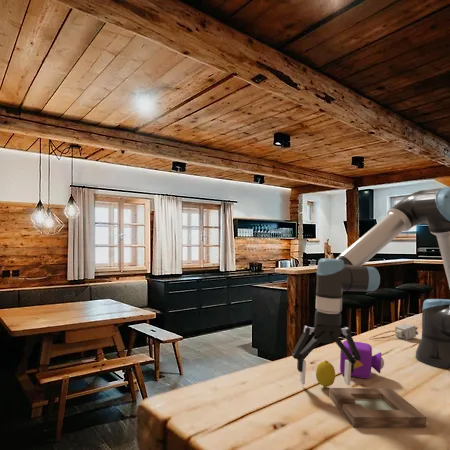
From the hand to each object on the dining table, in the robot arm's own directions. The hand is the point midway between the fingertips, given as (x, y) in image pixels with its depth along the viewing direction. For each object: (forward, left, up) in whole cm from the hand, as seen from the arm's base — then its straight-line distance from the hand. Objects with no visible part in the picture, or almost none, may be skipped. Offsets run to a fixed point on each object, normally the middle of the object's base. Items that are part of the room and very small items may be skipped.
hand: (324, 383), depth 109 cm
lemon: (0, 0, -2) cm, 2 cm away
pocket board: (-8, +14, -1) cm, 16 cm away
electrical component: (-50, -52, -2) cm, 72 cm away
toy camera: (-16, -11, -2) cm, 20 cm away
